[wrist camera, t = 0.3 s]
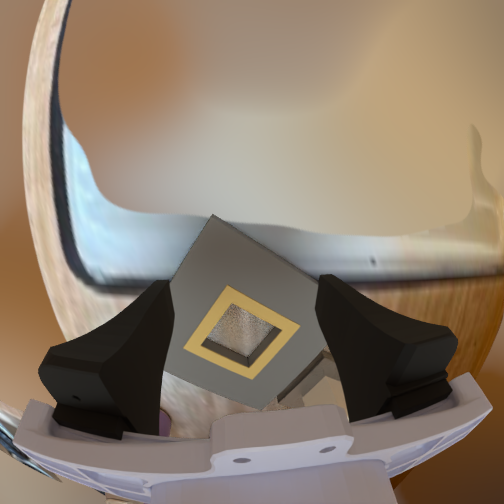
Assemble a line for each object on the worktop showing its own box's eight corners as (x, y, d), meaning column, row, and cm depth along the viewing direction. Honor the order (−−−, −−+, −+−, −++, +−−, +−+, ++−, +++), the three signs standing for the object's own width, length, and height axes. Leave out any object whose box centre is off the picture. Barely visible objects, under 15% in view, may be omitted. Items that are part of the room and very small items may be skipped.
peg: (325, 405, 29) (339, 441, 23) (302, 397, 28) (314, 437, 22) (348, 384, 28) (366, 420, 22) (325, 375, 27) (342, 415, 21)
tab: (322, 409, 31) (325, 417, 29) (276, 394, 29) (278, 403, 28) (364, 369, 29) (369, 377, 28) (320, 349, 27) (324, 357, 26)
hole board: (259, 401, 29) (261, 411, 28) (135, 344, 25) (131, 354, 24) (350, 303, 26) (357, 310, 24) (212, 213, 22) (211, 217, 20)
